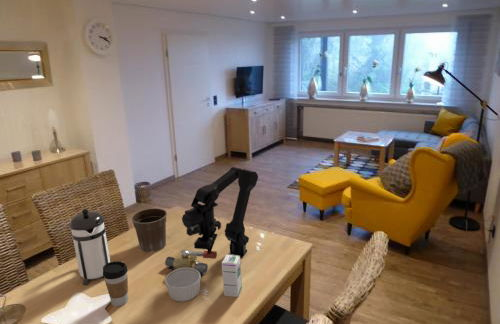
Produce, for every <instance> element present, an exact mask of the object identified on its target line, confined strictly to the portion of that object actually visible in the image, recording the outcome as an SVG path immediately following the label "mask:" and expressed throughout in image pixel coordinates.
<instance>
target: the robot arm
mask: <svg viewBox="0 0 500 324" xmlns="http://www.w3.org/2000/svg"><path fill="white" fill-rule="evenodd" d="M258 179H259V175H258V173H257V172H256V171H254V170H251V169H250V170H249V169H246V168H243V169H242V168H240V167H236V166H232V167H231V168H229V170H228V171H226V172H225V173H224V174H223V175H221V176H220V177H219V178H217V179H216V180H215V181H214V182H212V183H210V184H205V185H204V186H201V187H199V188H198V189H197V190H196V191H195V195H194V198H193V200H192V202H191V204H190V207H192V208H189V209H186V210H184V214H183V215H182V216H181V217H182V218H181V222H182V225H183V226H184V227H185V228H186V230H185V231H186V235H188V236H189V237H191V236H194V235H197V234H198V236H199V237H197V238H196V240H195V241H194V242H193V247H194V249H195V250H196V249H197V250H198V249H199V250H206V251H213V248H214V245H215V242H216V239H217V237H218V234H217V233H216V231H219V230H221V228H222V222H221V221H220V220H217V219H216V218H215V207H217V206H219V204H218V203H217V202H216V201H217V200H218V199H219V196H220V194H221V193H222V192H223V191H224V190H225V189H227V188H228V187H229V186H230V185H232V184H233V183H234V182H235V181H236V180H237V182H238V186H239V189H238V194H237V197H236V198H237V199H236V203H235V207H234V211H233V215H232V218H231V221H230V222H226V224H225V229H224V236H225V237H226V240H227V241H229V242H230V243H229V254H228V255H238V256H240V259H243V258H244V256H245V255H246V254H247V253H248V249H247V243H249V240H250V237H248V236H247V235H246V234H245V233H246V228H245V223H244V220H245V217H246V211H247V207H248V205H249V204H248V203H249V199H250V196H251V191H252V190H253V189H254V188H255V187H256V185H257V182H258Z"/></svg>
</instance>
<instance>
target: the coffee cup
mask: <svg viewBox="0 0 500 324" xmlns="http://www.w3.org/2000/svg"><path fill="white" fill-rule="evenodd" d="M128 269H129V268H128V267H127V264H126V263H125V261H119V260H117V261H116V260H115V261H110V263H107V264H106V265H104V266H103V276H102V277H103V278H104V283H105V286H106V289H107V292H108V295H109V299H110V304H111V305H112V306H113V307H121V306H124V305H126V304H127V303H128V301H129V293H128V292H129V286H128V284H129V282H128Z"/></svg>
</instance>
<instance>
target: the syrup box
mask: <svg viewBox="0 0 500 324" xmlns="http://www.w3.org/2000/svg"><path fill="white" fill-rule="evenodd" d="M241 268H242V267H241V258H240V256H238V255H229V254H225V256H224V257H223V260H222V261H221V272H222V284H223V285H222V287H223V295H224V297H225V296H226V297H233V298H239V296H240V294H241V291H242V288H243V287H242V285H243V283H242V270H241Z"/></svg>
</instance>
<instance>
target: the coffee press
mask: <svg viewBox="0 0 500 324" xmlns="http://www.w3.org/2000/svg"><path fill="white" fill-rule="evenodd" d="M104 222H105V217H104V215H102V214H101V213H100V212H98V211H94V210H93V211H91V210H90V211H89V210H88V209H87V208H84V209H82V211H81V213H78V214H76V215H75V216H73V217H72V218H71V219H70V222H69V223H68V226H69V228H70V230H71V238H72V241H73V246H74V252H75V256H76V261H77V267H78V271H79V275H80V277H81V278H83V279H82V280H83V281H82V285H83V286H87V285H88V284H89V282H90V280H96V279H99V278H102V277H103V266H104V265H106V264H107V263H110V262H111V260H110V252H109V245H108V241H107V240H108V239H107V234H106V233H107V232H106V231H107V230H106V225H105V223H104Z"/></svg>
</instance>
